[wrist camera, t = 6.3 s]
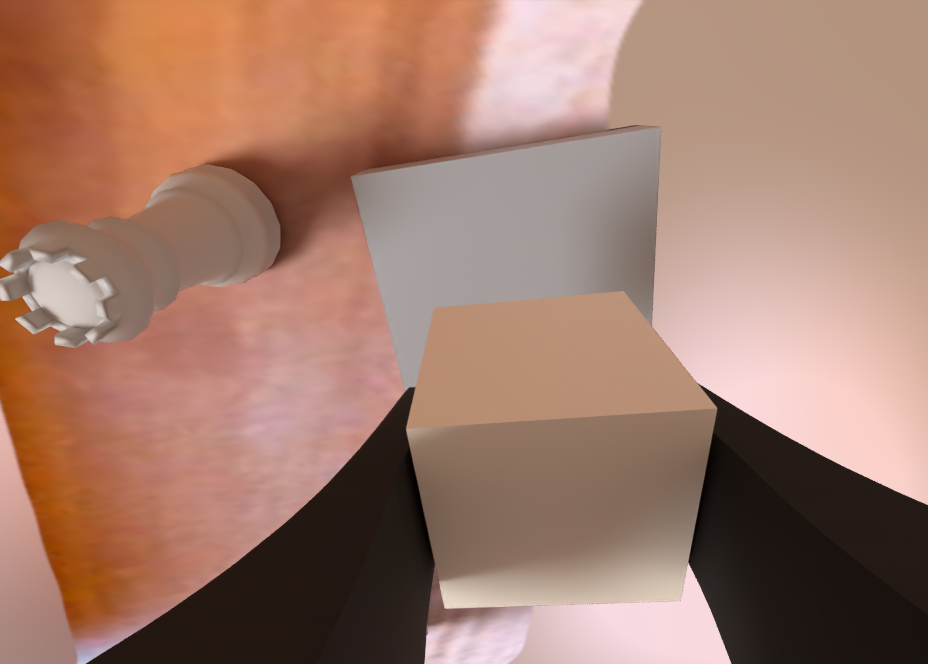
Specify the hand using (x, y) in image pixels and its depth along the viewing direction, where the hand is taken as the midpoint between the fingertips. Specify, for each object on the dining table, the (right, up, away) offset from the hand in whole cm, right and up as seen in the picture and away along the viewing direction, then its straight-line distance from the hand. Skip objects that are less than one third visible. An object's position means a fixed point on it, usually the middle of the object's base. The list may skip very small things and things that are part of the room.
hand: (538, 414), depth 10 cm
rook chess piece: (-11, +6, +8) cm, 15 cm away
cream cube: (0, +1, +2) cm, 2 cm away
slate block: (0, +4, +8) cm, 10 cm away
